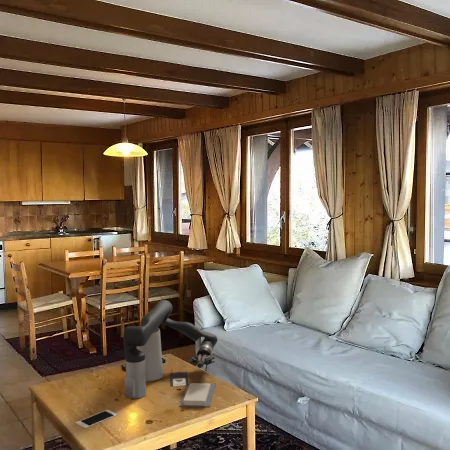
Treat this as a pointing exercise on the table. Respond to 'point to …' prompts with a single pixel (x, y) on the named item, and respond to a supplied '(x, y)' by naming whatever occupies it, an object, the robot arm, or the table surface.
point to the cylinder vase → (153, 356)
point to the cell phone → (96, 418)
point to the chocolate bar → (178, 379)
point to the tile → (197, 394)
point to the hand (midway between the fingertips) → (199, 366)
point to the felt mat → (207, 398)
